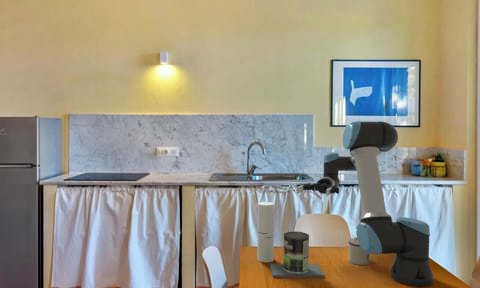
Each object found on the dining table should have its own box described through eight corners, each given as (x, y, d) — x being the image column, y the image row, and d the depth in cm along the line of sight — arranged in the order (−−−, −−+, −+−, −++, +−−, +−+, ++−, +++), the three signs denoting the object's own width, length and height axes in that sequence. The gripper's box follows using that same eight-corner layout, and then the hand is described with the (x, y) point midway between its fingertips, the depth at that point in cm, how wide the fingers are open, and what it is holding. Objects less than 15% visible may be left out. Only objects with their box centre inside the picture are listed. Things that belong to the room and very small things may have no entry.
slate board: (317, 266, 156) (317, 263, 156) (324, 277, 144) (324, 275, 144) (270, 266, 156) (270, 263, 156) (273, 277, 144) (273, 275, 144)
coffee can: (291, 275, 144) (292, 239, 143) (278, 266, 153) (279, 232, 152) (313, 271, 148) (314, 236, 147) (299, 263, 157) (300, 230, 157)
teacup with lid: (372, 266, 157) (372, 239, 157) (350, 265, 158) (350, 238, 158) (365, 256, 169) (366, 231, 168) (345, 255, 170) (345, 230, 170)
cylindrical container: (258, 256, 168) (258, 201, 167) (273, 257, 167) (274, 202, 166) (256, 261, 161) (257, 204, 160) (273, 262, 160) (273, 205, 159)
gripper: (350, 195, 179) (339, 202, 160) (301, 190, 191) (286, 197, 172) (351, 179, 179) (340, 185, 160) (301, 176, 191) (286, 181, 172)
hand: (312, 191), depth 166 cm, fingers open, 13 cm apart
